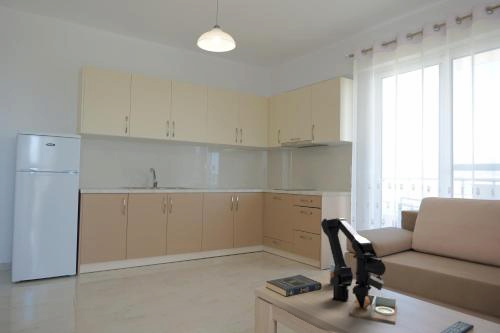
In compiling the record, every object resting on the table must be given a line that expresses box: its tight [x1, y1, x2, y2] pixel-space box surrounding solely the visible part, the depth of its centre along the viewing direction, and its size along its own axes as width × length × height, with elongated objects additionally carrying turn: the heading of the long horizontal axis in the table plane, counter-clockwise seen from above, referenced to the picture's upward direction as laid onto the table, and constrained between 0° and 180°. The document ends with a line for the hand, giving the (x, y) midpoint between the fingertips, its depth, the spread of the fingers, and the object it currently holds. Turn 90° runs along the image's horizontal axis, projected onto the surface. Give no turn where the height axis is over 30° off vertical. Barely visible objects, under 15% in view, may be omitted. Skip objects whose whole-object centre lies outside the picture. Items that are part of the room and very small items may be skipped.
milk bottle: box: [329, 247, 342, 281], centre depth 187 cm, size 8×8×20 cm
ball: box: [355, 296, 370, 308], centre depth 150 cm, size 6×6×6 cm
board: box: [348, 294, 398, 325], centre depth 148 cm, size 18×18×4 cm
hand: (362, 305), depth 150 cm, fingers closed on ball, 5 cm apart
